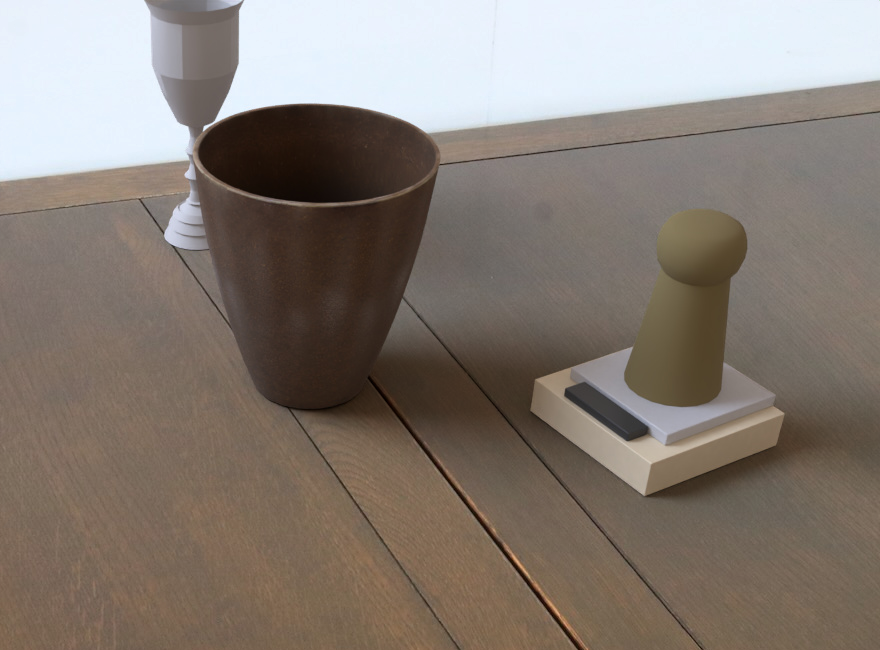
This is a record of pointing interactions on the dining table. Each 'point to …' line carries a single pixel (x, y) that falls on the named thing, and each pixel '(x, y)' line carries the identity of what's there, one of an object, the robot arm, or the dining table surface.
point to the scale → (655, 423)
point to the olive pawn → (687, 310)
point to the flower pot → (313, 239)
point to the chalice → (193, 83)
